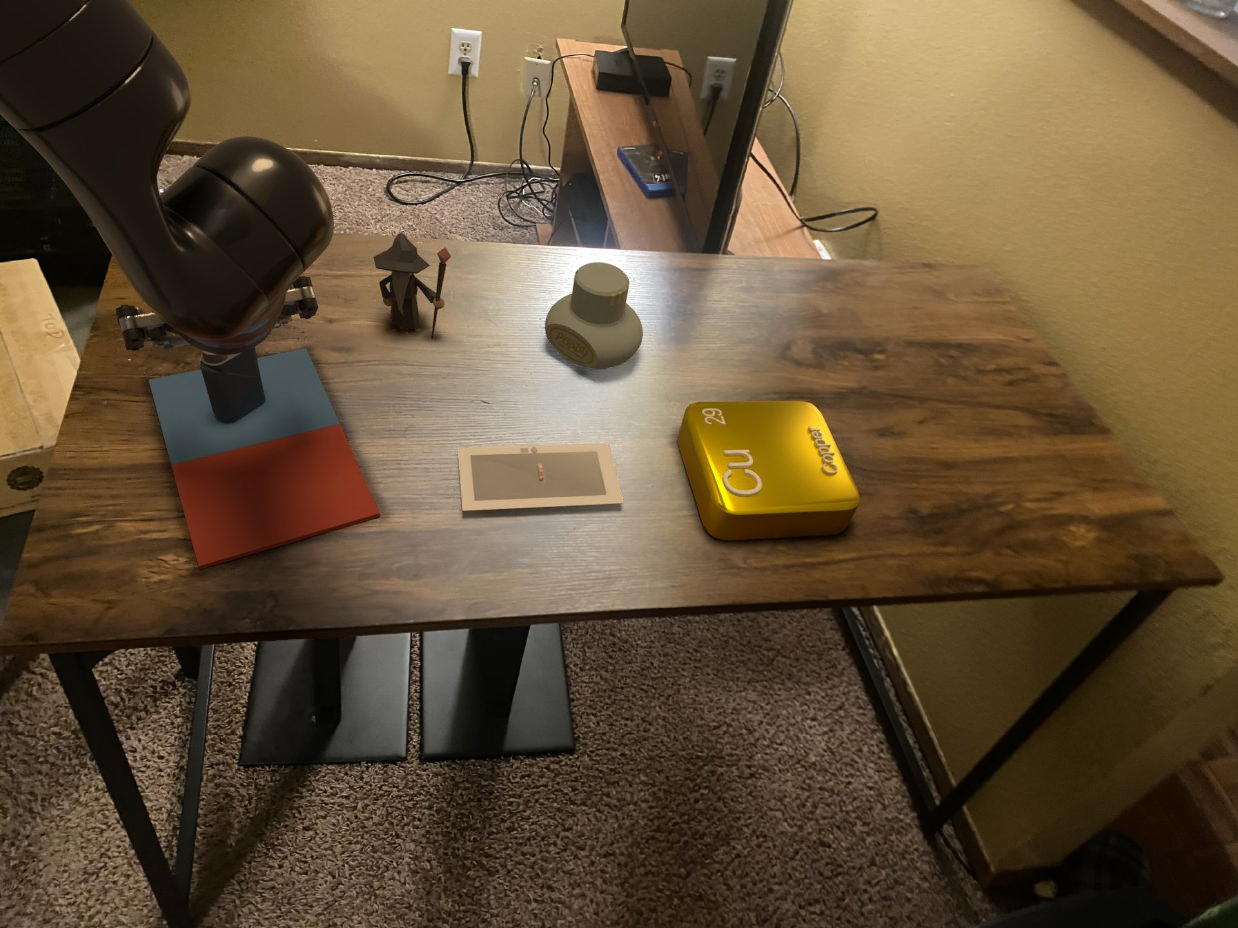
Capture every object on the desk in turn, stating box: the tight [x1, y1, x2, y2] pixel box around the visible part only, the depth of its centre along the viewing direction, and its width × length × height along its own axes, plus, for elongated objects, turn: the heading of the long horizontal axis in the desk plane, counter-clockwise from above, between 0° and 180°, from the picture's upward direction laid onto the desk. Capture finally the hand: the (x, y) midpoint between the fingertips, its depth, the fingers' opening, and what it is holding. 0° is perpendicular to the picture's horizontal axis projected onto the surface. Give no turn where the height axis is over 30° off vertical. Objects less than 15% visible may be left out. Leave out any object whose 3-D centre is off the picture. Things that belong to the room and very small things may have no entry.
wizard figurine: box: [373, 232, 452, 339], centre depth 89 cm, size 8×6×12 cm
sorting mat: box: [148, 347, 381, 570], centre depth 78 cm, size 15×24×1 cm, turn 29°
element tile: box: [677, 400, 861, 542], centre depth 83 cm, size 15×15×5 cm
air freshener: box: [544, 261, 644, 370], centre depth 91 cm, size 11×8×10 cm
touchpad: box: [457, 442, 625, 512], centre depth 80 cm, size 8×15×2 cm, turn 101°
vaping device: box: [199, 347, 266, 422], centre depth 76 cm, size 3×5×12 cm, turn 147°
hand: (219, 326), depth 72 cm, fingers open, 8 cm apart
